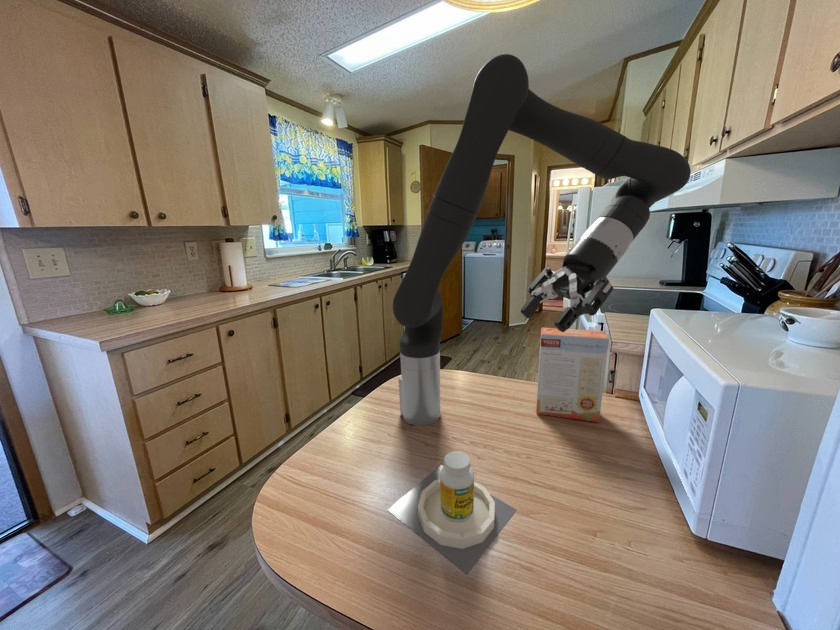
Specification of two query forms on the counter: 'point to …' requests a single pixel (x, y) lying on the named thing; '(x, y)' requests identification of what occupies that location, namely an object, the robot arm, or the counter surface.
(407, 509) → the slate board
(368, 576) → the counter surface
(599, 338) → the cracker box
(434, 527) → the bowl
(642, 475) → the counter surface
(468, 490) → the supplement bottle
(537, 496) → the counter surface
